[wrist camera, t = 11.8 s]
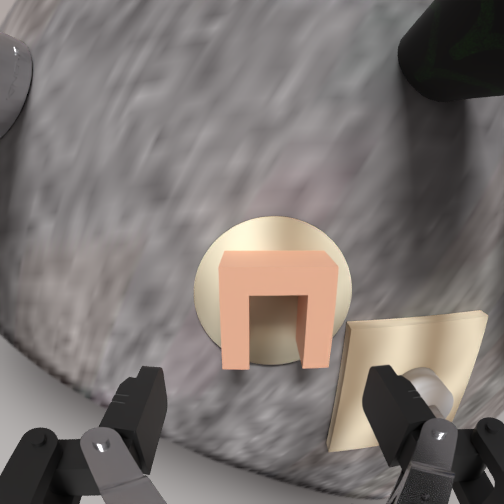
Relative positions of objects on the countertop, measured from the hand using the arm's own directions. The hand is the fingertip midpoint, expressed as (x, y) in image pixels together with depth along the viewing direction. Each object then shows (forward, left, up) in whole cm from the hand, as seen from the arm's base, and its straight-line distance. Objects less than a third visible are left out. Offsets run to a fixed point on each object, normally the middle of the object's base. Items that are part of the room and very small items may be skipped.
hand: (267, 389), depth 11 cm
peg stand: (+12, -8, -9) cm, 17 cm away
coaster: (+1, 0, -9) cm, 9 cm away
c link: (+1, 0, -9) cm, 9 cm away
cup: (+12, +16, -10) cm, 22 cm away
